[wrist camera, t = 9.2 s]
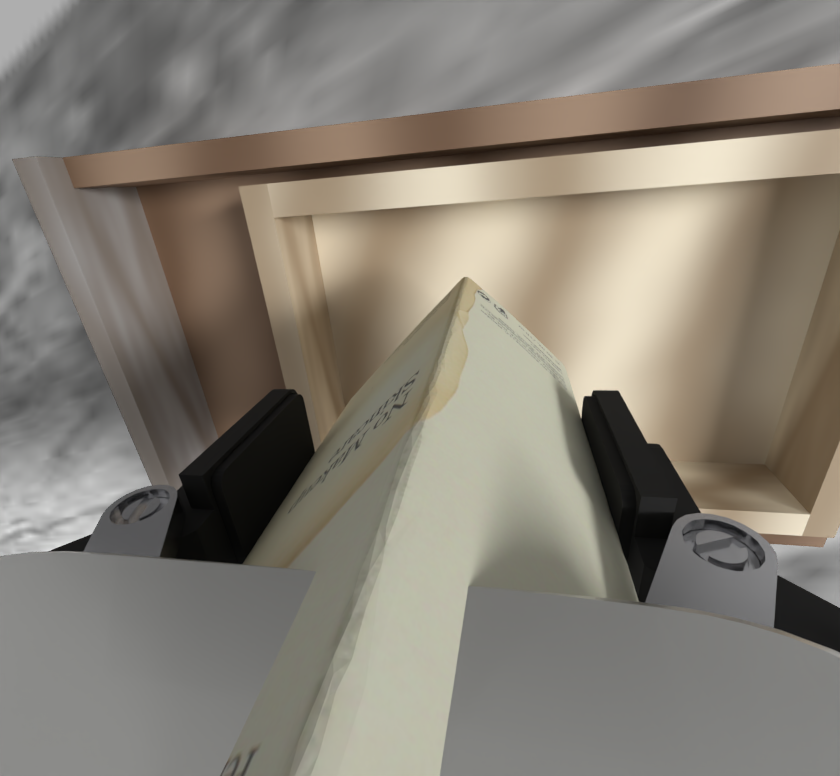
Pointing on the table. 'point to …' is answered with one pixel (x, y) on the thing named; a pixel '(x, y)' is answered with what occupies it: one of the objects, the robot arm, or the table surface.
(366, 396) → the skincare box
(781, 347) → the birch crate
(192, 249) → the wooden serving tray
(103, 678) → the robot arm
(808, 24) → the table surface
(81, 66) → the table surface
